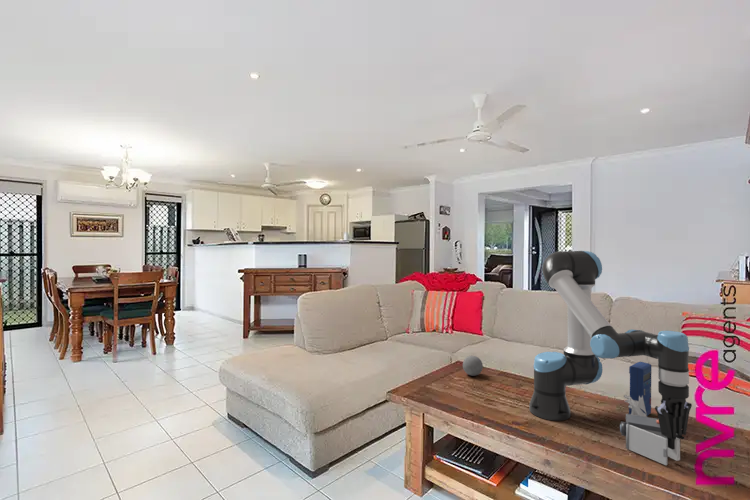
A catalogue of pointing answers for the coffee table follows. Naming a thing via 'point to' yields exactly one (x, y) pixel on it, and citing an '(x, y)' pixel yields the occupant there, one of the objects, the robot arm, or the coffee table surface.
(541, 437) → the coffee table surface
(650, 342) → the robot arm
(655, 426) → the camera body
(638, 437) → the door
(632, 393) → the electronic device
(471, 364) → the decorative ball
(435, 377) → the coffee table surface
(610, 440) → the coffee table surface
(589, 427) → the coffee table surface
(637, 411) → the figurine
